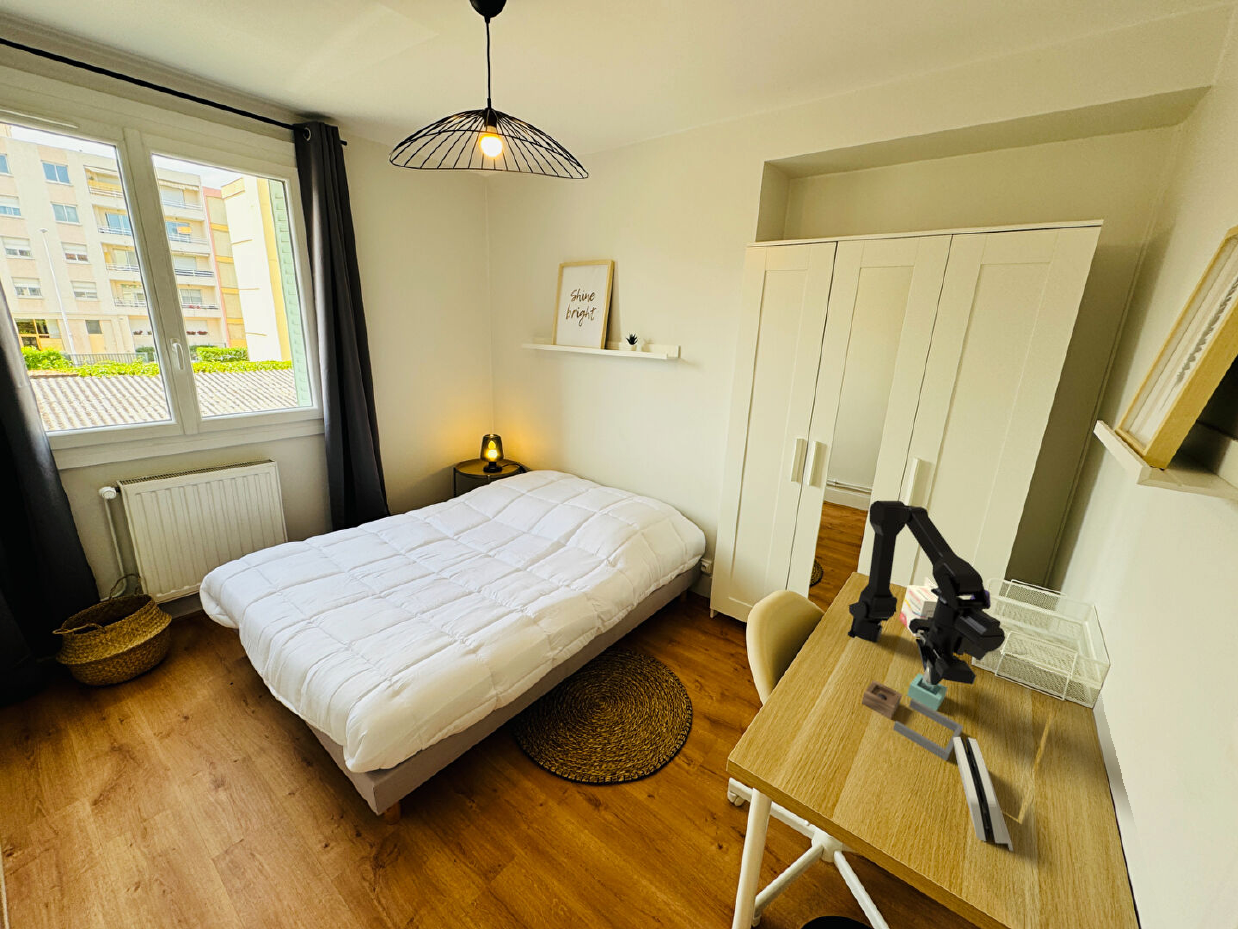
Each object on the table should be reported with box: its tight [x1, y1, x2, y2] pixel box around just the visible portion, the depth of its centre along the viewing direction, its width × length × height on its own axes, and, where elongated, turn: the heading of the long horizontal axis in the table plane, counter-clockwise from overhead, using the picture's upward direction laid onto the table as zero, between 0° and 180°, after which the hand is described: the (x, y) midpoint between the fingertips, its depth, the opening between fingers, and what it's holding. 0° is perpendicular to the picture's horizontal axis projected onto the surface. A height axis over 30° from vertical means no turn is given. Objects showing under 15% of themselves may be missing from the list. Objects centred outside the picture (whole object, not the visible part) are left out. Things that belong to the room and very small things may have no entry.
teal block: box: [906, 672, 948, 712], centre depth 110 cm, size 6×6×4 cm
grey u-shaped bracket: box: [892, 698, 964, 762], centre depth 101 cm, size 10×11×2 cm
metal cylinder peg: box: [921, 660, 937, 694], centre depth 109 cm, size 3×3×9 cm
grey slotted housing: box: [953, 736, 1014, 852], centre depth 86 cm, size 17×5×10 cm, turn 156°
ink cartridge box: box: [898, 576, 938, 638], centre depth 135 cm, size 9×5×15 cm, turn 179°
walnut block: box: [861, 679, 903, 720], centre depth 107 cm, size 6×6×4 cm
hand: (930, 679), depth 109 cm, fingers closed on metal cylinder peg, 3 cm apart
